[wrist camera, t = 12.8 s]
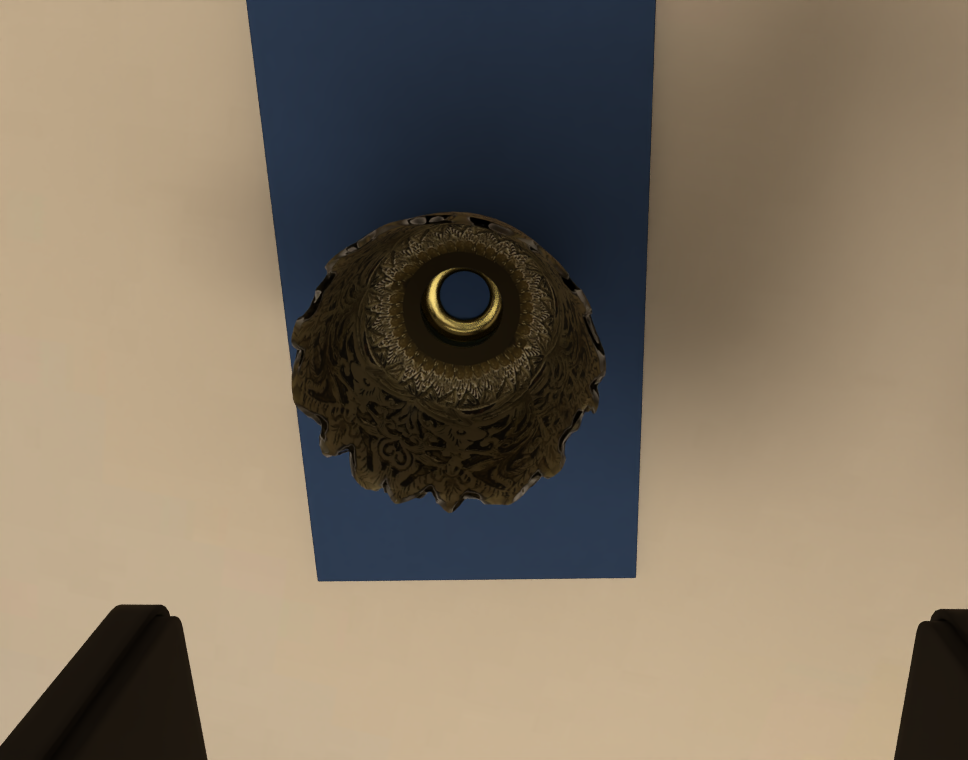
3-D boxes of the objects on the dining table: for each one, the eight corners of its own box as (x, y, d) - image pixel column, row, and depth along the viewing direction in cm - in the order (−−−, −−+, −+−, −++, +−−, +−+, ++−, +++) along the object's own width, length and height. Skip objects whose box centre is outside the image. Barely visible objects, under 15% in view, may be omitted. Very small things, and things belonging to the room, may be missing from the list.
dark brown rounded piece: (499, 438, 28) (494, 565, 20) (313, 329, 27) (236, 422, 19) (622, 259, 26) (667, 329, 18) (425, 132, 25) (387, 151, 17)
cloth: (657, -93, 23) (659, -96, 22) (634, 572, 30) (635, 578, 30) (240, -73, 23) (236, -76, 23) (319, 576, 31) (317, 582, 30)
